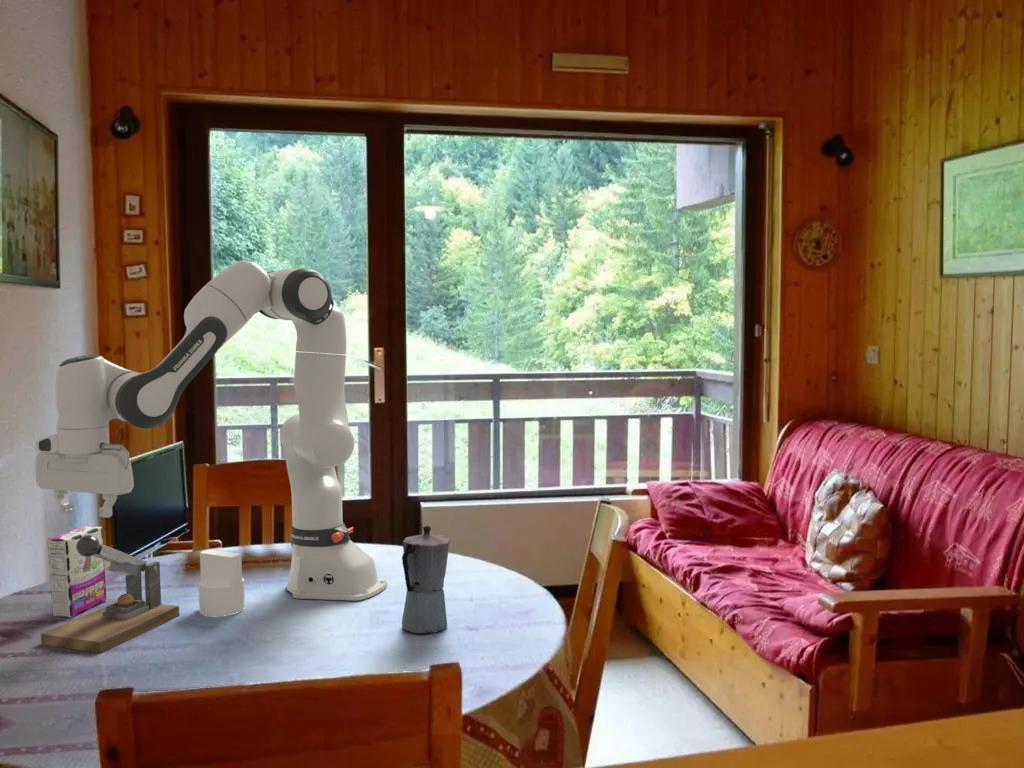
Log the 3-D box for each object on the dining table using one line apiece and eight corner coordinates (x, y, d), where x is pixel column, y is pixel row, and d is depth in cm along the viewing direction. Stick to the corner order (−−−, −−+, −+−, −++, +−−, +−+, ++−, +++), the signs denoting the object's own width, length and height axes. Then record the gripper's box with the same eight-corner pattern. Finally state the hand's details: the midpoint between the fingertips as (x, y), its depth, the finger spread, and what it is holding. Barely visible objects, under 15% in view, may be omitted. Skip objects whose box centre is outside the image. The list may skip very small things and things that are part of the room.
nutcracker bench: (179, 615, 179) (177, 563, 178) (100, 653, 159) (97, 594, 158) (124, 608, 184) (122, 557, 183) (41, 644, 164) (38, 586, 163)
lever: (143, 579, 176) (150, 557, 178) (84, 557, 162) (92, 533, 163) (127, 577, 177) (134, 555, 179) (67, 555, 163) (75, 531, 165)
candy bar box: (86, 599, 190) (83, 525, 188) (107, 601, 189) (104, 526, 187) (49, 617, 179) (46, 538, 177) (71, 618, 178) (67, 539, 176)
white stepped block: (253, 605, 185) (252, 550, 184) (223, 619, 177) (221, 561, 176) (221, 600, 189) (219, 545, 188) (189, 613, 181) (188, 556, 180)
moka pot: (462, 618, 177) (461, 520, 175) (430, 645, 162) (429, 539, 161) (419, 613, 180) (418, 517, 178) (384, 639, 165) (382, 535, 164)
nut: (137, 607, 175) (136, 592, 175) (126, 611, 173) (125, 597, 172) (125, 605, 176) (124, 590, 176) (114, 610, 174) (113, 595, 173)
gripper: (140, 442, 163) (142, 515, 164) (55, 437, 170) (57, 507, 171) (115, 447, 157) (117, 522, 158) (27, 441, 164) (30, 514, 165)
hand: (85, 515), depth 164 cm, fingers open, 8 cm apart
